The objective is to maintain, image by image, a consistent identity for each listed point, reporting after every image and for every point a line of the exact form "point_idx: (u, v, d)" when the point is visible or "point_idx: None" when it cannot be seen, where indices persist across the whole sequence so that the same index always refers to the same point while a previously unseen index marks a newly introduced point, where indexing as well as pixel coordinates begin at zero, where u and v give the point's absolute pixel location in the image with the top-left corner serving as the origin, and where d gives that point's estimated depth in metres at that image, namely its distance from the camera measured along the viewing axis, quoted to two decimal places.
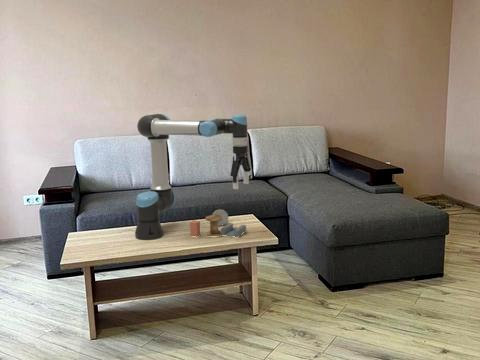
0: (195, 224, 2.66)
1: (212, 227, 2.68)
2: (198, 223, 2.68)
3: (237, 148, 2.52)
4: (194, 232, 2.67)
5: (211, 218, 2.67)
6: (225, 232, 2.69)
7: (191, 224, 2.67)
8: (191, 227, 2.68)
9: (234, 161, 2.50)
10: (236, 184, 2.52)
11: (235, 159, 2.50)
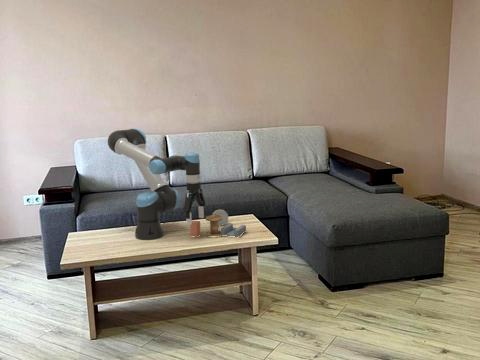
0: (195, 224, 2.66)
1: (212, 227, 2.68)
2: (198, 223, 2.68)
3: (190, 185, 2.61)
4: (194, 232, 2.67)
5: (211, 218, 2.67)
6: (225, 232, 2.69)
7: None
8: (191, 227, 2.68)
9: (187, 198, 2.59)
10: (189, 220, 2.61)
11: (188, 196, 2.59)
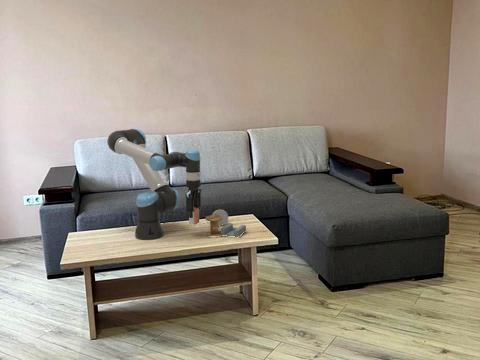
0: (194, 211, 2.65)
1: (212, 227, 2.68)
2: (197, 210, 2.67)
3: (190, 182, 2.61)
4: None
5: (211, 218, 2.67)
6: (225, 232, 2.69)
7: None
8: None
9: (187, 198, 2.61)
10: (192, 219, 2.66)
11: (188, 196, 2.60)
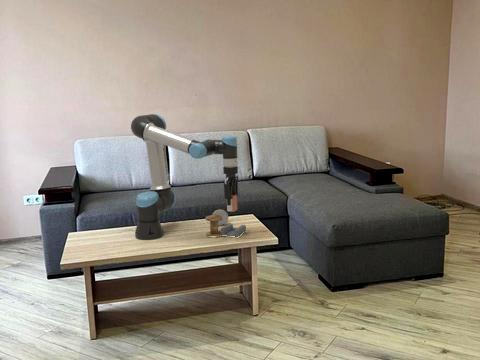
0: (232, 198, 2.59)
1: (212, 227, 2.68)
2: (235, 197, 2.61)
3: (227, 169, 2.56)
4: None
5: (211, 218, 2.67)
6: (225, 232, 2.69)
7: None
8: None
9: (225, 185, 2.55)
10: (230, 206, 2.60)
11: (226, 183, 2.55)
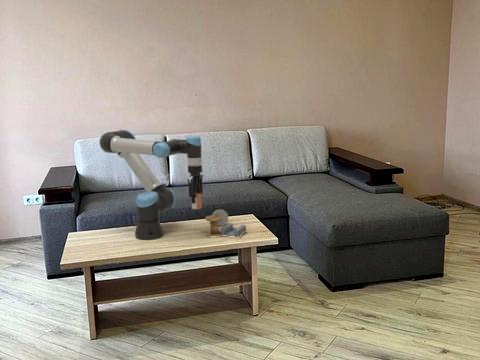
0: (196, 196, 2.68)
1: (212, 227, 2.68)
2: (199, 195, 2.70)
3: (191, 168, 2.64)
4: None
5: (211, 218, 2.67)
6: (225, 232, 2.69)
7: None
8: None
9: (190, 183, 2.63)
10: (195, 204, 2.68)
11: (190, 182, 2.63)
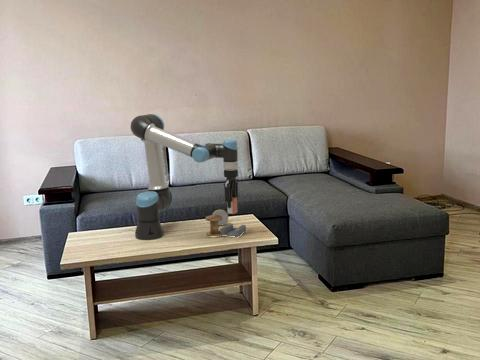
0: (232, 200, 2.64)
1: (212, 227, 2.68)
2: (235, 199, 2.66)
3: (228, 172, 2.60)
4: None
5: (211, 218, 2.67)
6: (225, 232, 2.69)
7: None
8: None
9: (226, 188, 2.60)
10: (230, 209, 2.65)
11: (226, 186, 2.59)
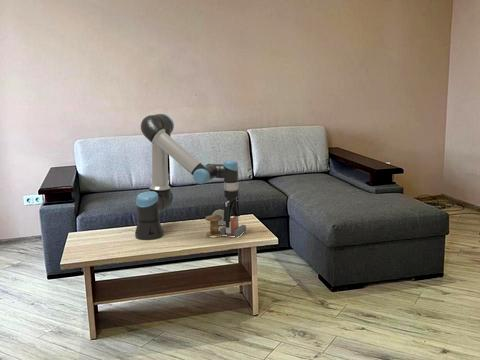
0: (233, 221, 2.66)
1: (212, 227, 2.68)
2: (236, 220, 2.68)
3: (228, 192, 2.62)
4: (232, 229, 2.68)
5: (211, 218, 2.67)
6: (225, 232, 2.69)
7: None
8: None
9: (226, 207, 2.61)
10: (229, 229, 2.65)
11: (226, 205, 2.61)
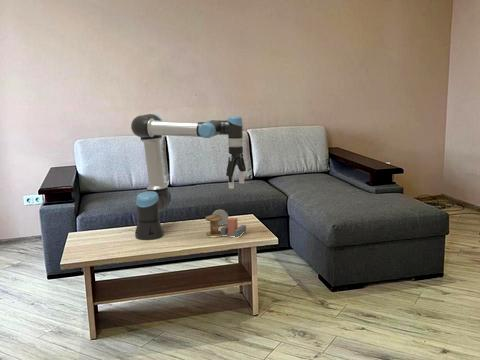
0: (233, 221, 2.66)
1: (212, 227, 2.68)
2: (236, 220, 2.68)
3: (233, 148, 2.59)
4: (232, 229, 2.68)
5: (211, 218, 2.67)
6: (225, 232, 2.69)
7: (229, 221, 2.67)
8: (229, 224, 2.68)
9: (230, 161, 2.58)
10: (232, 184, 2.60)
11: (231, 159, 2.58)
